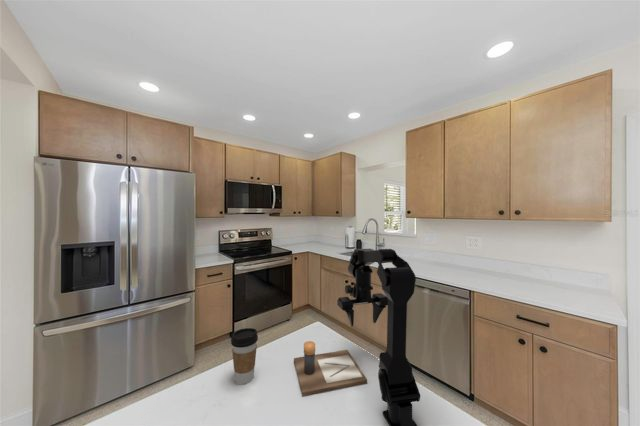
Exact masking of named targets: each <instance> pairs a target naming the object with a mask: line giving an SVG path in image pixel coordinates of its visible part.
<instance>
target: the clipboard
mask: <svg viewBox="0 0 640 426" xmlns="http://www.w3.org/2000/svg"><path fill="white" fill-rule="evenodd" d="M293 365H294V367H295V373H296V375H297V379H298V380H297V381H298V384H299V389H300V392H301V396H302V397H308V396H311V395H312V396H313V395H318V394H322V393H327V392H332V391H336V390H337V391H338V390H340V389H341V390H342V389H347V388H350V387H351V388H352V387H354V386H356V387H357V386H362V385H365V384H368V379H367V376H365V374H364V372H363V371H362V370H361V368H360V367H359V365H358V363H357V361H355V359H354V357H353V356H352V355H351V353H350V351H349V350H348V349H342V350H337V351H330V352H325V353H319V354H315V372H314V374H312V375H307V374H305V373H304V356H298V357H293Z"/></svg>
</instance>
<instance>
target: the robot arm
mask: <svg viewBox="0 0 640 426" xmlns="http://www.w3.org/2000/svg"><path fill="white" fill-rule="evenodd" d="M375 263H377V264H378V266H377V270H376V274H377V276H378V279H379V281H380V283H381V289H382V291H383V293H384V294H383V293H382V292H379V293H378V292H377V293H372V291H373V289H374V287H373V286H372V274H373V269H372V268H371V267H370V266H371V265H373V264H375ZM385 263H386V264H388V263H391V264H392V266H394V267H385V268H384V266H383V264H385ZM347 271H348V273H349V274H350V275H351V276H352V277H353V278H354V279H355V283H353V286H352V285H351V284H347V285H345V287H344V292H345V295H348V294H349V296H350V297H352V298H354V299H350V297H348V296H342V297H341V296H339V297H338V299H337V300H336V301H337V303H336V304H337V306H338V307H339V308H340V309H341V311H344V312H345V313H346V314H347V315H346V316H347V318H348V320H349V324H350V326H351V327H354V317H355V310H354V309H353V308H354V306H357V305H366V304H371V305H372V323H374V324H376V322H377V321H378V319H379V317H380V315H381V313H382V312H383V311H384V309H385V308H386V307H387V315H386V316H387V318H386V319H387V321H386V323H387V324H386V325H387V326H386V351H383V352H380V353H379V355H378V357H379V358H378V359H379V364H378V367H379V369H378V372H377V375H378V382H379V383H378V384H379V391H380V394H381V400H382V401H383V402H385V403H386V404H387V407H386V408H387V409H386V410H382V416H383V417H384V419H385V420H386V422H387V424H388V425H389V426H418V424H417V423H416V422H415V421H414V419H413V404H412V403H414V402H417V403H418V402H420V400H421V394H420V391H419V388H418V385H417V382H416V379H415V376H414V374H413V367H412V365H411V363H410V361H409V359H408V358H407V327H408V325H407V323H408V321H407V320H408V318H407V317H408V302H409V301H410V300H411V298H412V296H413V295H414V293H415V289H416V282H417V281H416V280H417V278H416V274H415V272H414V271H413V269H412V267H411V265H410V264H409V263H408V262H407V261H406V260H404V259H403V258H402V257H400V256H399V255H398V253H397V252H396V250H395V249H392V248H379V249H376V250H374V248H355V249H354V250H353V252H352V253H351V256H350V259H349V265H348V267H347Z"/></svg>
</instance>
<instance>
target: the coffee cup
mask: <svg viewBox="0 0 640 426" xmlns="http://www.w3.org/2000/svg"><path fill="white" fill-rule="evenodd" d="M230 340H231V341H230V343H231V346H232V348H231V351H232V361H233V362H232V363H233V371H234V372H233V373H234V382H235V383H236V384H237V385H246V384H249V383H250V382H252V381H253V379H254V378H255V367H256V357H257V347H258V344H257V341H259V335H258V331H257V329H256V328H251V327H247V328H242V329H241V328H240V329H237V330H236V331H234V332H233V333H232V337H231V339H230Z"/></svg>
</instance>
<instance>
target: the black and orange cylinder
mask: <svg viewBox="0 0 640 426" xmlns="http://www.w3.org/2000/svg"><path fill="white" fill-rule="evenodd" d="M315 355H316V343H315V342H314V341H312V340H310V341H309V340H308V341H305V342H304V343H303V357H304V373H305V374H307V375H312V374H314V372H315Z"/></svg>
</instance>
